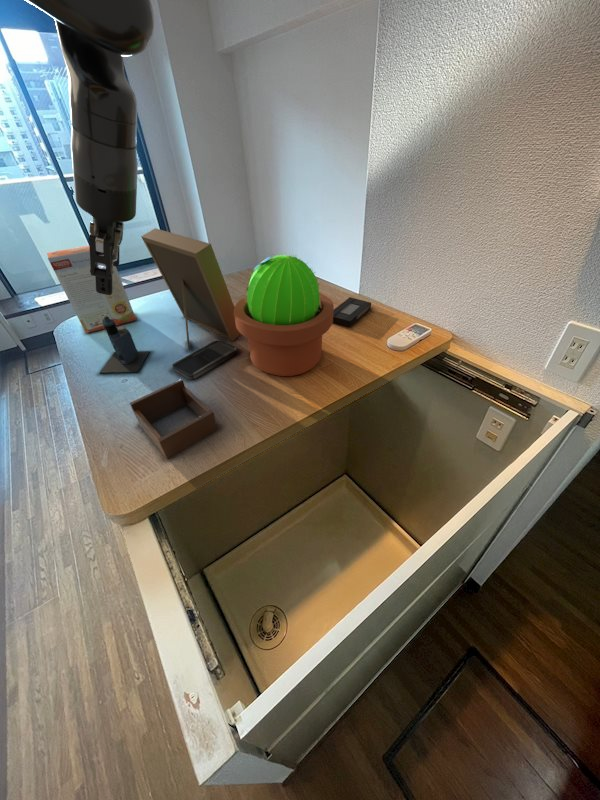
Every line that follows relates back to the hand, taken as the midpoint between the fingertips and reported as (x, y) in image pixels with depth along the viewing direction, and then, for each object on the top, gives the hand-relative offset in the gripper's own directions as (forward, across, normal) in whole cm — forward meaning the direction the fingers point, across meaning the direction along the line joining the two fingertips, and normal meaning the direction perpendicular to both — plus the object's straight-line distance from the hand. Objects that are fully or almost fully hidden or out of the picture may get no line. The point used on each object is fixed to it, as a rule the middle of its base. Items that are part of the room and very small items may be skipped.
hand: (108, 278), depth 55 cm
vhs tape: (+9, -20, +61) cm, 65 cm away
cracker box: (+37, -31, -4) cm, 48 cm away
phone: (+21, -5, +20) cm, 30 cm away
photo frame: (+25, -19, +19) cm, 37 cm away
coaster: (+29, -8, +2) cm, 30 cm away
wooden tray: (+19, +17, +14) cm, 29 cm away
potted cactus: (+13, -2, +39) cm, 41 cm away
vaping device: (+29, -9, +3) cm, 30 cm away
